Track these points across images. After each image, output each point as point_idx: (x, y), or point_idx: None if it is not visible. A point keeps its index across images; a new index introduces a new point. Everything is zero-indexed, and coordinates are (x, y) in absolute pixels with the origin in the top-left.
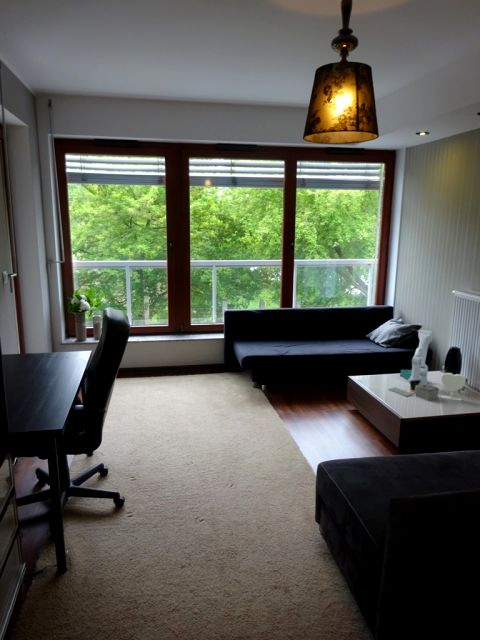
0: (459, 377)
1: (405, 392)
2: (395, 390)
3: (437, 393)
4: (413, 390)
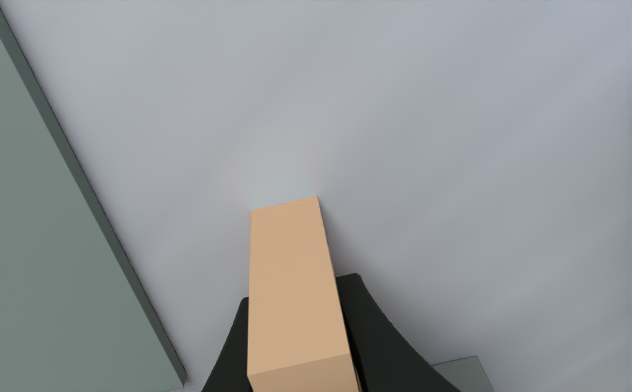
0: None
1: (45, 299)
2: None
3: None
4: None
